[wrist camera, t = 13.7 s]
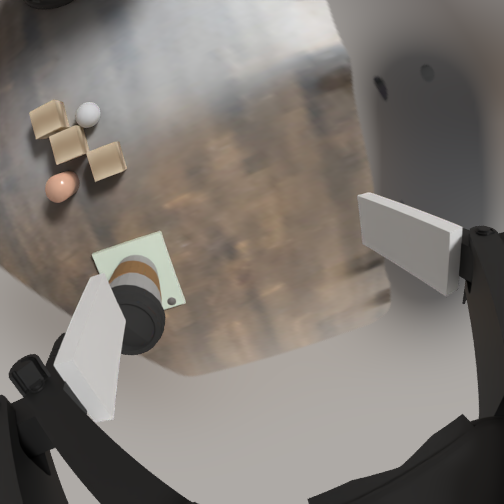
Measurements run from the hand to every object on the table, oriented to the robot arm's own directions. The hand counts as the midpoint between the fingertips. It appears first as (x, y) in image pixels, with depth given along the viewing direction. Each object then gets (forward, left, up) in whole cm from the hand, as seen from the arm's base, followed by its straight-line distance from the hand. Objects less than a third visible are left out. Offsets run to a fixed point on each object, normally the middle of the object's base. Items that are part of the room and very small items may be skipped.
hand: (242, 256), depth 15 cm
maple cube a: (-14, -17, -32) cm, 39 cm away
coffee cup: (+11, -12, -31) cm, 35 cm away
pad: (+12, -12, -32) cm, 36 cm away
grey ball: (-13, -12, -30) cm, 35 cm away
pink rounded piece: (-5, -18, -32) cm, 37 cm away
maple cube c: (-6, -11, -32) cm, 34 cm away
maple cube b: (-10, -15, -32) cm, 37 cm away
